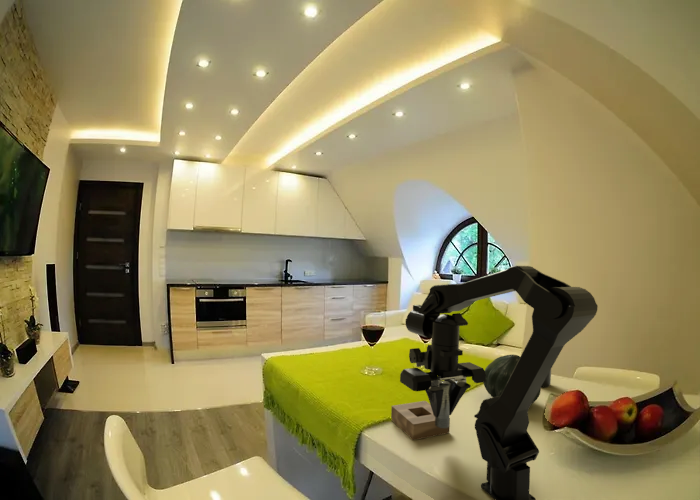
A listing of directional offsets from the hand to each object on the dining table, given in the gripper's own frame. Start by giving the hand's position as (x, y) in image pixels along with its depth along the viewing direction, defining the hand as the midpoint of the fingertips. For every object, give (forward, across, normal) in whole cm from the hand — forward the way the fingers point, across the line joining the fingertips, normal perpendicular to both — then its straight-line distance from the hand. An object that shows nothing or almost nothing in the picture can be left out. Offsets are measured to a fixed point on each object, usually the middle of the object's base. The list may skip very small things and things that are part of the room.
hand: (442, 415), depth 76 cm
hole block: (+7, -1, -10) cm, 12 cm away
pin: (+2, 0, 0) cm, 2 cm away
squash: (+7, -35, -14) cm, 38 cm away
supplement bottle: (+7, -56, -22) cm, 61 cm away
